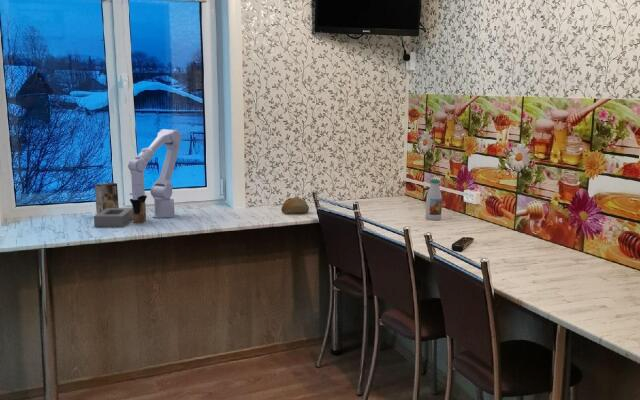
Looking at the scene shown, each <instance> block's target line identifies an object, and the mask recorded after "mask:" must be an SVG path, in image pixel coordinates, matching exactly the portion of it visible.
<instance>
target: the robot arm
mask: <svg viewBox="0 0 640 400" xmlns="http://www.w3.org/2000/svg"><path fill="white" fill-rule="evenodd" d="M155 137H156V138H155V139H154V140H153V141H152V142H151V144H150V145H149V146H148V147H144V148H141V151H140V152H139V154H138V155H136V156H135V158H132V159H131V160H129V162H128V164H127V168H128V169H129V173H130V177H131V179H130V180H131V192H130V193H129V195H130V196H131V197H132V198H130V199H129V202H130V203H131V205H132V206H133V207H132V206H131V207H132V208H133V209H134V212H135V214H140V208H141V203H142V202H145V203H146V199H147V197H148V195H146V192H145V172H144V171H146V169H147V165H148V163H149V162H150V161H151V160H152V159H153V158H154V157H155V156H154V155H155V152H156V151H157V150H158V149H159V148H161V146H162V145H164V146H165V148H166V149H167V151H166V154H165V157H164V161H163V165H162V168H161V171H160V174H159V177H158V178H157V180H155V181H154V182H153V185H152V186H151V188H150V195H151V196H152V197H153V198H152V199H154V201H153V202H154V215H152V218H157V219H158V218H159V219H160V218H173V217H174V216H175V213H176V212H175V200H174V199H173V198H171V197H172V195H173V188H174V187H173V184H172V182H171V179H172V176H173V173H174V169H175V164H176V163H177V158H178V155H179V151H180V148H181V147H180V143H181V140H182V135H181V132H180V131H179V130H178V129H167V128H163V129H160V130H159V132H157V136H155Z"/></svg>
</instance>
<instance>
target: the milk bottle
mask: <svg viewBox="0 0 640 400" xmlns="http://www.w3.org/2000/svg"><path fill="white" fill-rule="evenodd" d="M429 182H430V183H429V185H430V186H429V189H428V191H427V194H426V199H425V200H426V202H425V219H426V220H429V221H440V220H441V219H442V210H443V209H442V205H443V196H442V192H441V189H440V182H441V181H440V179H436V178H432V179H430V181H429Z"/></svg>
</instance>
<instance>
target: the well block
mask: <svg viewBox="0 0 640 400" xmlns="http://www.w3.org/2000/svg"><path fill="white" fill-rule="evenodd" d="M130 221H133V207H119V208H106V209H104V210H103V211H101V212H100V213H98V214H97V213H96V214H95V215H93V223H94V226H93V227H94V228H114V227H115V228H124V227H125V226H126V225H127V224H128V223H129V222H130Z"/></svg>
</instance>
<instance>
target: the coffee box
mask: <svg viewBox="0 0 640 400" xmlns="http://www.w3.org/2000/svg"><path fill="white" fill-rule="evenodd" d="M118 190H119V189H118V182H117V183H115V182H104V183H97V184H96V183H95V184H94V196H95V208H96V209H95V210H96V215H97V214H98V213H100V212H101V211H103V210H104V209H106V208H120V207H119V193H118V192H119V191H118Z"/></svg>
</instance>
